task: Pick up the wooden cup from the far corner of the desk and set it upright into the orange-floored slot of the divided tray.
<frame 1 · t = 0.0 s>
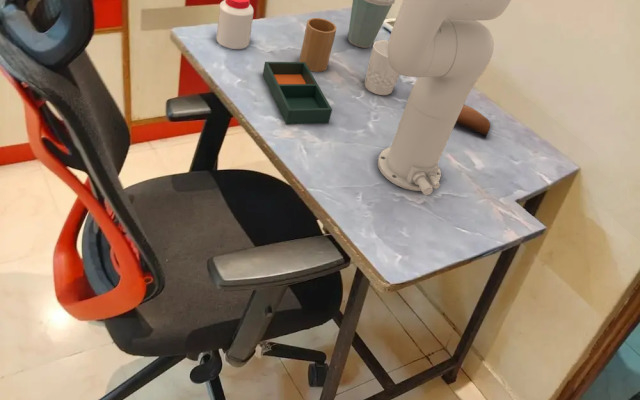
disposable coffee cup: (360, 42, 153), on the table
wooden cup: (313, 64, 139), on the table
ink cartridge box: (417, 63, 151), on the table
divided tray: (294, 98, 127), on the table
pill bottle: (232, 41, 140), on the table
white cup: (378, 88, 138), on the table
sunglasses case: (449, 117, 135), on the table
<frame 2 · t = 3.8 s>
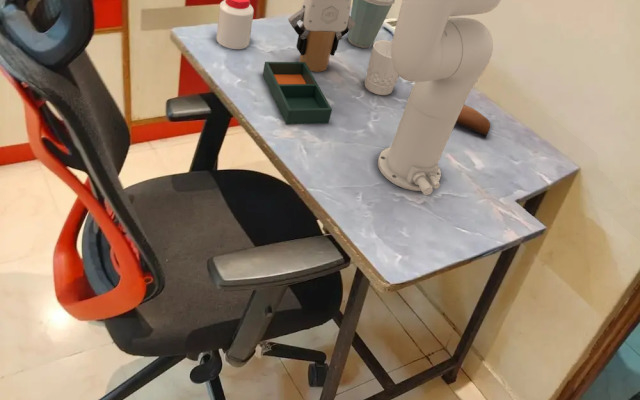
hand: (315, 51, 137), 3 cm above the table, tool pointing down, fingers closed on wooden cup, 6 cm apart
wooden cup: (313, 64, 139), on the table, touching gripper
everything else where it was.
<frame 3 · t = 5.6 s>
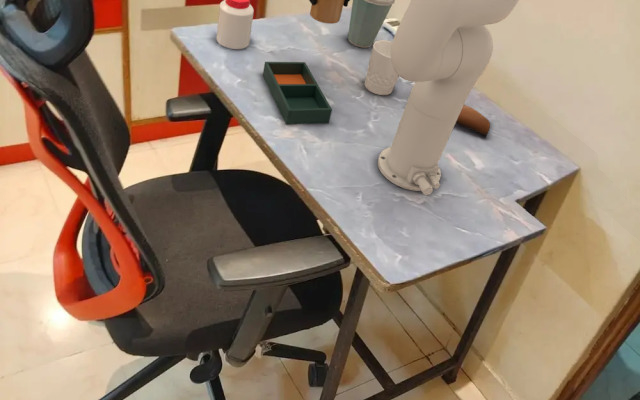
hand: (327, 2, 129), 16 cm above the table, tool pointing down, fingers closed on wooden cup, 6 cm apart
wooden cup: (324, 16, 131), point 12 cm above the table, touching gripper
everything else where it was.
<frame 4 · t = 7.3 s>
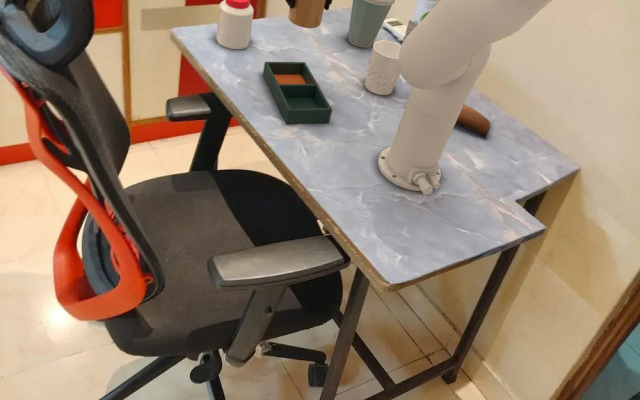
hand: (307, 5, 118), 19 cm above the table, tool pointing down, fingers closed on wooden cup, 6 cm apart
wooden cup: (304, 20, 121), point 15 cm above the table, touching gripper
everything else where it was.
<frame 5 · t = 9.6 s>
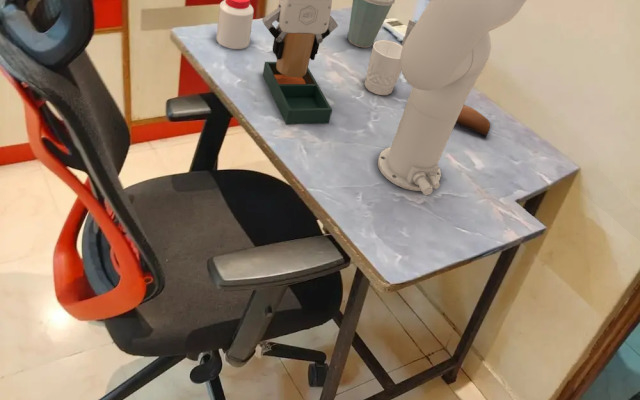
hand: (294, 55, 125), 8 cm above the table, tool pointing down, fingers closed on wooden cup, 6 cm apart
wooden cup: (291, 69, 127), point 4 cm above the table, touching gripper
everything else where it was.
when the fingers open (4 cm above the table, at t = 11.1 s): wooden cup stays where it is, resting on divided tray.
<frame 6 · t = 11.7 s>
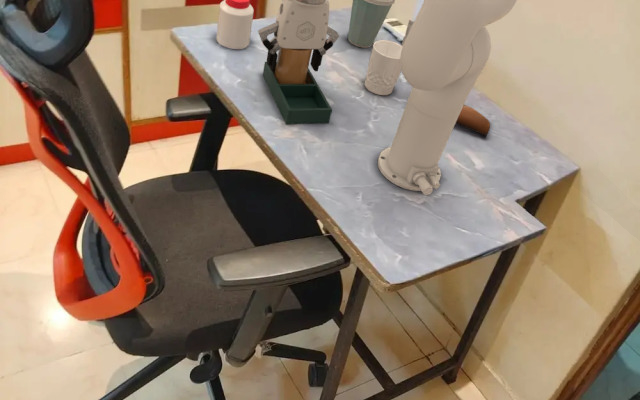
hand: (292, 68, 126), 5 cm above the table, tool pointing down, fingers open, 9 cm apart
wooden cup: (288, 84, 129), point 1 cm above the table, touching divided tray
everything else where it was.
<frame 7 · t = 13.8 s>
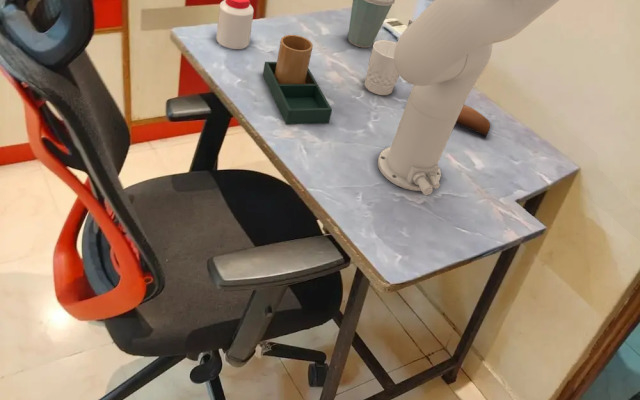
nothing on the table moved.
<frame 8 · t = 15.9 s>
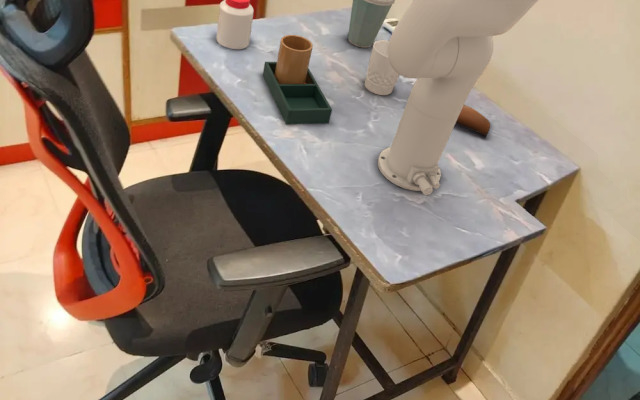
nothing on the table moved.
at the end: wooden cup 0.2 cm from the target spot in the divided tray, point 0.7 cm above the divided tray's base; wooden cup tilted 0°; the gripper is holding nothing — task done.
